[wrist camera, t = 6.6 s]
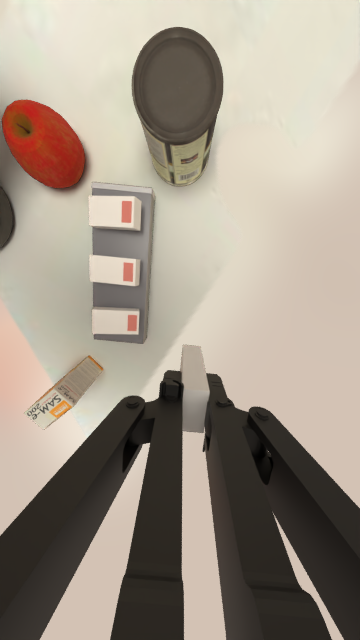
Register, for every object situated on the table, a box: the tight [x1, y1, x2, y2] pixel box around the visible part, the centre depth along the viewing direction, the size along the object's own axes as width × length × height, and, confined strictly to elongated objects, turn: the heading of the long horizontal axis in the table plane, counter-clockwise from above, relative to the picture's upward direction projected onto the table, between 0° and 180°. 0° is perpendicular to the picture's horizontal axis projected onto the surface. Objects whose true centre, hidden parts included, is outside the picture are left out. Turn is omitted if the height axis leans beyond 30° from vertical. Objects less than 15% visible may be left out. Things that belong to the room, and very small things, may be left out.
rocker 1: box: [89, 196, 142, 231], centre depth 33 cm, size 8×4×3 cm, turn 85°
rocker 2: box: [89, 255, 140, 286], centre depth 35 cm, size 8×4×2 cm, turn 85°
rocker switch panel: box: [91, 182, 155, 344], centre depth 39 cm, size 10×28×5 cm, turn 175°
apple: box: [2, 100, 85, 188], centre depth 32 cm, size 10×10×10 cm
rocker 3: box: [92, 307, 139, 335], centre depth 38 cm, size 8×4×2 cm, turn 85°
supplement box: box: [25, 356, 103, 429], centre depth 41 cm, size 8×5×13 cm, turn 130°
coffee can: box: [132, 27, 223, 186], centre depth 30 cm, size 10×10×14 cm
